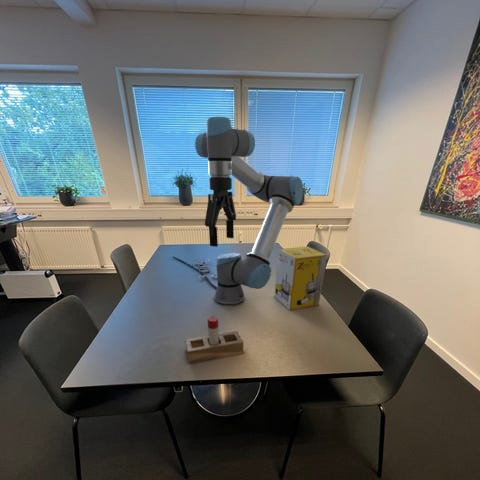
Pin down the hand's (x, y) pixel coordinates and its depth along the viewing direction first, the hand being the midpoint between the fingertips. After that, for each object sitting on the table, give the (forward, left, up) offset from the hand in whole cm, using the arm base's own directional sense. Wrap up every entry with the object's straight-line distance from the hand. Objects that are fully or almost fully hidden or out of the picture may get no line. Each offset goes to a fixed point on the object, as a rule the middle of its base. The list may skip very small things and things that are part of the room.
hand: (222, 241), depth 96 cm
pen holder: (+20, -9, -35) cm, 41 cm away
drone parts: (-68, +9, -35) cm, 77 cm away
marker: (+20, -9, -35) cm, 41 cm away
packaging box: (-10, +40, -35) cm, 54 cm away
